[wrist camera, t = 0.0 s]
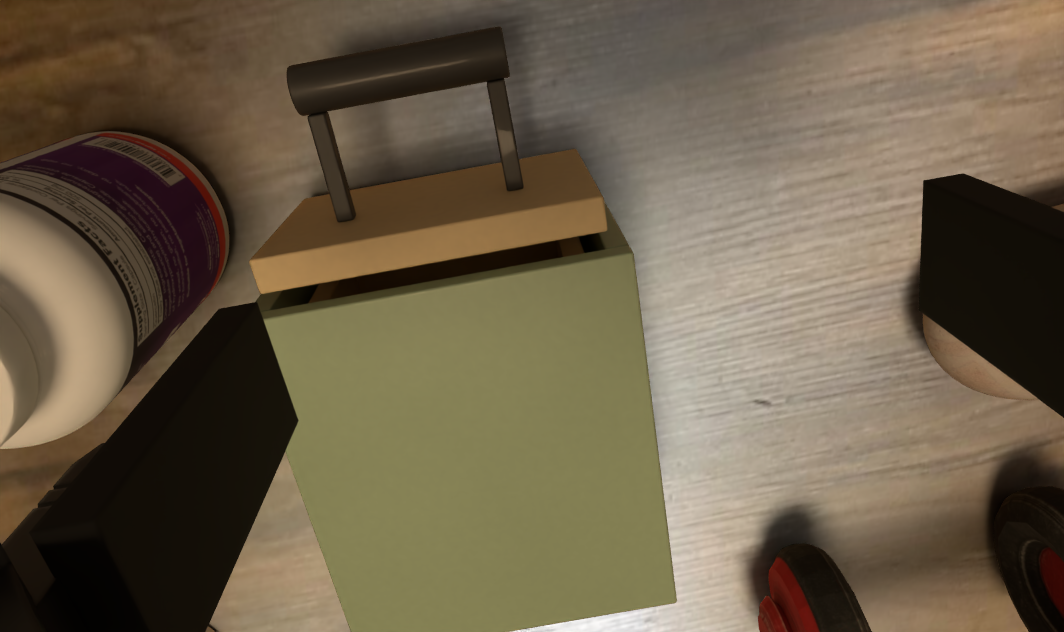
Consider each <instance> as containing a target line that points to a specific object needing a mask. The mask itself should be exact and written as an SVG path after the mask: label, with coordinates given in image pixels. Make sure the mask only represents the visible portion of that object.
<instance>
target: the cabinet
mask: <svg viewBox="0 0 1064 632" xmlns="http://www.w3.org/2000/svg"><path fill="white" fill-rule="evenodd" d="M604 206H605V213H606V220H607V228H608V229H607V231H605V232H600V233H594V234H589V235H583V236H578V237H579V239H580V242H581V245H582V247H583V250H584V253H583V254H578V255H572V256H567V257H561V258H556V259H550V260H545V261H539V262H534V263H528V264H523V265H517V266H512V267H506V268H501V269H495V270H490V271H484V272H479V273H473V274H468V275H462V276H457V277H451V278H446V279H440V280H435V281H429V282H424V283H418V284H413V285H407V286H402V287H396V288H391V289H385V290H379V291H374V292H368V293H363V294H357V295H352V296H346V297H341V298H335V299H330V300H324V301H319V302H313V303H309V301H310V299H311V297H312V296H313V294H314V292H315V291H316V289H317V287H318V285H319V284H314V285H309V286H303V287H298V288H292V289H287V290H282V291H276V292H271V293H265V294H261V295H260V296H259V298H258V299H257V300H256V302H257V303H258V306H259V309H260V311H261V314H262V317H263V320H264V323H265V326H266V329H267V332H268V334H269V337H270V340H271V343H272V346H273V349H274V352H275V354H276V357H277V360H278V363H279V366H280V369H281V372H282V375H283V377H284V380H285V383H286V386H287V389H288V392H289V395H290V398H291V400H292V403H293V406H294V409H295V412H296V415H297V418H298V420H299V421H298V424H297V426H296V428H295V430H294V433H293V435H292V437H291V439H290V442H289V444H288V446H287V448H286V451H285V452H286V454H287V457H288V460H289V463H290V465H291V468H292V471H293V474H294V476H295V479H296V482H297V485H298V487H299V490H300V493H301V496H302V498H303V501H304V504H305V507H306V509H307V512H308V515H309V518H310V520H311V523H312V526H313V529H314V531H315V534H316V537H317V540H318V542H319V545H320V548H321V551H322V553H323V556H324V559H325V562H326V564H327V567H328V570H329V573H330V575H331V578H332V581H333V584H334V586H335V589H336V592H337V595H338V597H339V600H340V603H341V606H342V608H343V611H344V614H345V617H346V619H347V622H348V625H349V628H350V630H351V632H509V631H515V630H521V629H527V628H533V627H538V626H544V625H550V624H556V623H562V622H567V621H573V620H579V619H585V618H591V617H596V616H602V615H608V614H614V613H620V612H626V611H631V610H637V609H643V608H649V607H655V606H660V605H666V604H672V603H676V601H677V598H676V590H675V582H674V574H673V566H672V558H671V550H670V542H669V534H668V526H667V518H666V510H665V502H664V494H663V486H662V478H661V470H660V462H659V454H658V446H657V438H656V430H655V422H654V414H653V405H652V397H651V389H650V381H649V373H648V365H647V357H646V349H645V341H644V333H643V325H642V317H641V309H640V301H639V293H638V285H637V277H636V269H635V261H634V254H633V252H632V250H631V248H630V247H629V244H628V243H627V241H626V239H625V237H624V235H623V234H622V232H621V230H620V228H619V226H618V225H617V223H616V221H615V219H614V217H613V216H612V214H611V212H610V210H609V208H608V207H607V205H606V203H605V201H604Z"/></svg>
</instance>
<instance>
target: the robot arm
mask: <svg viewBox="0 0 1064 632" xmlns="http://www.w3.org/2000/svg"><path fill="white" fill-rule="evenodd" d="M919 311H920V312H922V313H923V314H924V315H926V316H927V317H928V318H930V319H931V320H932V321H934V322H935V323H936V324H938V325H939V326H941V327H942V328H943V329H945V330H946V331H947V332H949V333H950V334H951V335H953V336H954V337H955V338H957V339H958V340H959V341H961V342H962V343H964V344H965V345H966V346H968V347H969V348H970V349H972V350H973V351H974V352H976V353H977V354H978V355H980V356H981V357H982V358H984V359H985V360H987V361H988V362H989V363H991V364H992V365H993V366H995V367H996V368H997V369H999V370H1000V371H1001V372H1003V373H1004V374H1005V375H1007V376H1008V377H1009V378H1011V379H1012V380H1014V381H1015V382H1016V383H1018V384H1019V385H1020V386H1022V387H1023V388H1024V389H1026V390H1027V391H1028V392H1030V393H1031V394H1032V395H1034V396H1035V397H1037V398H1038V399H1039V400H1041V401H1042V402H1043V403H1045V404H1046V405H1047V406H1049V407H1050V408H1051V409H1053V410H1054V411H1055V412H1057V413H1058V414H1060V415H1061V416H1062V417H1064V212H1063V211H1060V210H1058V209H1055V208H1052V207H1050V206H1047V205H1044V204H1042V203H1039V202H1037V201H1034V200H1031V199H1029V198H1026V197H1024V196H1021V195H1018V194H1016V193H1013V192H1010V191H1008V190H1005V189H1003V188H1000V187H997V186H995V185H992V184H990V183H987V182H984V181H982V180H979V179H976V178H974V177H971V176H969V175H966V174H957V175H952V176H946V177H941V178H935V179H930V180H924V182H923V207H922V233H921V259H920V284H919ZM298 421H299V420H298V418H297V415H296V412H295V409H294V406H293V403H292V400H291V398H290V395H289V392H288V389H287V386H286V383H285V380H284V377H283V375H282V372H281V369H280V366H279V363H278V360H277V357H276V354H275V352H274V349H273V346H272V343H271V340H270V337H269V334H268V332H267V329H266V326H265V323H264V320H263V317H262V314H261V311H260V309H259V306H258V303H257V302H254V303H249V304H243V305H238V306H232V307H227V308H221V309H219V310H218V311H217V312H216V313H215V314H214V315H213V317H212V318H211V319H210V320H209V321H208V322H207V324H206V325H205V326H204V327H203V328H202V330H201V331H200V332H199V333H198V334H197V335H196V337H195V338H194V339H193V340H192V341H191V342H190V344H189V345H188V346H187V347H186V348H185V350H184V351H183V352H182V353H181V354H180V355H179V357H178V358H177V359H176V360H175V361H174V362H173V364H172V365H171V366H170V367H169V368H168V370H167V371H166V372H165V373H164V374H163V375H162V377H161V378H160V379H159V380H158V381H157V382H156V384H155V385H154V386H153V387H152V388H151V390H150V391H149V392H148V393H147V394H146V395H145V397H144V398H143V399H142V400H141V401H140V402H139V404H138V405H137V406H136V407H135V408H134V410H133V411H132V412H131V413H130V414H129V415H128V417H127V418H126V419H125V420H124V421H123V422H122V424H121V425H120V426H119V427H118V428H117V430H116V431H115V432H114V433H113V434H112V435H111V437H110V438H109V439H108V440H107V441H106V442H105V443H102V444H100V445H99V446H97V447H96V448H95V449H93V450H92V451H91V452H89V453H88V454H86V455H85V456H84V457H82V458H81V459H79V460H78V461H77V462H75V463H74V464H72V466H71V467H70V468H69V469H68V470H67V471H66V472H65V474H64V475H63V476H62V477H61V478H60V479H59V480H58V481H57V483H56V484H55V485H54V486H53V487H54V490H50V491H49V492H48V493H47V494H46V495H45V496H44V497H43V499H42V500H41V501H40V502H39V503H38V508H35V509H33V510H32V511H31V512H30V513H29V514H28V516H27V517H26V518H25V519H24V520H23V521H22V522H21V523H20V525H19V526H18V527H17V528H16V529H15V530H14V531H13V533H12V534H11V535H10V536H9V537H8V538H7V539H6V541H5V542H4V543H3V544H2V545H1V543H0V632H206V629H207V627H208V625H209V623H210V620H211V618H212V616H213V614H214V611H215V609H216V607H217V604H218V602H219V600H220V598H221V595H222V593H223V591H224V589H225V586H226V584H227V582H228V580H229V577H230V575H231V573H232V571H233V568H234V566H235V564H236V562H237V559H238V557H239V555H240V552H241V550H242V548H243V546H244V543H245V541H246V539H247V537H248V534H249V532H250V530H251V528H252V525H253V523H254V521H255V519H256V516H257V514H258V512H259V510H260V507H261V505H262V503H263V500H264V498H265V496H266V494H267V491H268V489H269V487H270V485H271V482H272V480H273V478H274V476H275V473H276V471H277V469H278V467H279V464H280V462H281V460H282V458H283V455H284V453H285V451H286V448H287V446H288V444H289V442H290V439H291V437H292V435H293V433H294V430H295V428H296V426H297V424H298Z"/></svg>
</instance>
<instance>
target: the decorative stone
mask: <svg viewBox="0 0 1064 632" xmlns="http://www.w3.org/2000/svg"><path fill="white" fill-rule="evenodd" d="M1052 208H1055V209H1058V210H1060V211H1063V212H1064V204H1061V205H1057V206H1054V207H1052ZM923 329H924V335H925V339H926V343H927V345H928V347H929V350H930V352H931V354H932V356H933V357H934V359H935V360H936V361H937V363H938V364H939V365H940V366H941V368H942V369H943V370H944V371H945V372H946V373H948V374H949V375H950V376H951V377H952V378H954V379H955V380H957V381H958V382H960V383H961V384H963V385H965V386H967V387H969V388H971V389H973V390H976V391H979V392H982V393H984V394H987V395H991V396H995V397H1000V398H1006V399H1018V400H1038V398H1037V397H1035V396H1034V395H1032V394H1031V393H1030V392H1028V391H1027V390H1026V389H1024V388H1023V387H1022V386H1020V385H1019V384H1018V383H1016V382H1015V381H1014V380H1012V379H1011V378H1009V377H1008V376H1007V375H1005V374H1004V373H1003V372H1001V371H1000V370H999V369H997V368H996V367H995V366H993V365H992V364H991V363H989V362H988V361H987V360H985V359H984V358H982V357H981V356H980V355H978V354H977V353H976V352H974V351H973V350H972V349H970V348H969V347H968V346H966V345H965V344H964V343H962V342H961V341H959V340H958V339H957V338H955V337H954V336H953V335H951V334H950V333H949V332H947V331H946V330H945V329H943V328H942V327H941V326H939V325H938V324H936V323H935V322H934V321H932V320H931V319H930V318H928V317H927V316H926V315H924V314H923Z"/></svg>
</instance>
